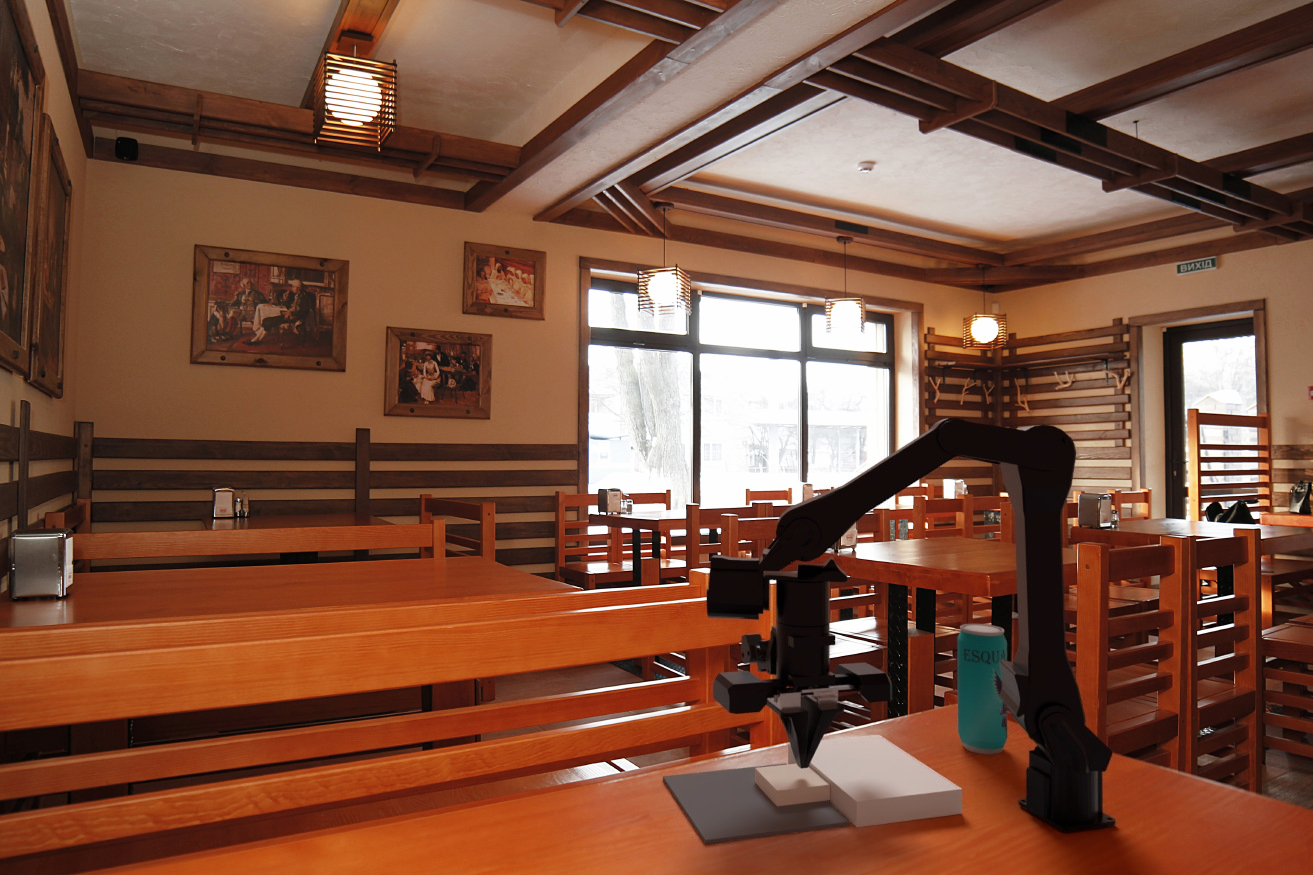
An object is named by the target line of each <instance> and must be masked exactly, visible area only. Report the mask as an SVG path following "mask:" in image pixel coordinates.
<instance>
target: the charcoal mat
mask: <svg viewBox="0 0 1313 875" xmlns="http://www.w3.org/2000/svg"><path fill="white" fill-rule="evenodd" d="M779 765H788V763H776V764H767V765H766V764H765V765H757V766H748V767H747V766H746V767H739V768H737V767H736V768H729V769H720V770H711V771H700V772H691V773H681V774H671V775H663V776H662V781H663V782H664V784H665V785H666V787H667V789H668V790H669V791H670V793H671V795H672V796H673V797H674V799H675V800H676V802H677V804H678V805H679V807H680V808H681V810H682V811H683V813H684V814H685V816H686V817H687V819H688V820H689V822H690V823H691V825H692V826H693V828H694V829H695V831H696V832H697V834H698V836H699V837H700V838H701V840H702V842H703V843H704V845H711V844H718V843H720V844H721V843H726V842H734V841H735V842H736V841H743V840H748V839H758V838H765V837H774V836H781V835H786V834H787V835H789V834H797V833H804V832H811V831H820V830H826V829H827V830H828V829H834V828H841V827H849V826H850V823H851V822H850V821H849V820H848V819H847V818H846V817H845V816H844V815H843V814H841V813H840V812H839V811H838V810H837V809H836V808H835V807H834V806H833V805H832V804H830V803H829V802H828V801H827V800H826V801H817V802H809V803H801V804H792V805H784V806H776V805H775V803H774V802H773V801H772V800H771V799H770V798H769V797H768V796H767V795H766V794H765V793H764V792H763V791H762V789H761V788H760V787H759V786H758V785H757V784H756V783H755V768H759V767H769V766H779Z"/></svg>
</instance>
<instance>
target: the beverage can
mask: <svg viewBox="0 0 1313 875" xmlns="http://www.w3.org/2000/svg"><path fill="white" fill-rule="evenodd" d="M959 628H960V632H959V634H958V636H957V732H958V735H959V738H960V742H961V744H962V746H963V747H964V748H965V749H966V750H967V751H970V752H972V753H976V754H980V755H990V756H991V755H997V754H1000V753H1002V752H1003V750H1004V748H1005V744H1006V743H1007V740H1008V707H1007V704H1006V703H1005V702H1004V701H1003V700H1002V699H1001V698H1000V696H999V694H1000V692H1001V689H1002V683H1003V681H1002V674H1001V670H1000V660H1004V661H1008V641H1007V640H1006V637H1005V634H1004V633H1005V629H1004V628H1003V627H1001V626H996V625H991V624H986V623H964V624H962V625H960V626H959Z"/></svg>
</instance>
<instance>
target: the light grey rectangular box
mask: <svg viewBox="0 0 1313 875" xmlns="http://www.w3.org/2000/svg"><path fill="white" fill-rule="evenodd" d="M787 745H788V746H787V747H788V748H787V765H788V764H797V763H796V760H795V757H794V754H793V751H792V748H791V745H790V742H788V743H787ZM809 767H810V768H812V769H813V770H814V771H815V772H816V773H817V774H818V775H820V776H821V777H822V778H823V779H824V780H825V781H826V782H828V783H829V784H830V800H827V801H828V802H829V803H830V804H831V805H832V806H833V807H834V808H835V809H836V810H837V811H839V812H840V813H841V814H842V815H843V816H844V817H845V818H846V819H847V820H848V821H849V822H850V823H851V824H852V825H854V827H856V828H861V827H869V826H870V827H871V826H877V825H885V824H893V823H894V824H895V823H900V822H901V823H902V822H908V821H916V820H925V819H930V818H931V819H932V818H940V817H946V816H947V817H948V816H953V815H961V814H963V788H961V787H960V786H958V785H957V784H955V783H954V782H952V781H950V779H947V778H946V777H944V776H943V775H941V774H940V773H938V772H937V771H935V770H933V769H932V768H930V767H929V766H927V765H926V764H924V763H923V762H921V761H920V760H919V759H916V758H915V757H914V756H913V755H911V754H909V753H908V752H906V751H905V750H903V749H901V747H898V746H897V745H895V744H894V743H892V742H891V741H890V740H888V739H886V738H884V737H883V736H881V735H880V734H871V735H863V736H862V735H861V736H851V737H841V738H830V739H822V740H821V742H820V744H819V746H818V748H817V750H816V752H815V754H814V756H813V758H812V760H811V762H810V764H809Z"/></svg>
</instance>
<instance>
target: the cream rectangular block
mask: <svg viewBox="0 0 1313 875" xmlns="http://www.w3.org/2000/svg"><path fill="white" fill-rule="evenodd" d="M755 783H756V784H757V785H758V786H759V787H760V788H761V789H762V791H763V792H764V793H765V794H766V795H767V796H768V797H769V798H770V799H771V800H772V801H773V802H774V803H775V805H776V806H784V805H792V804H801V803H809V802H817V801H826V800H830V784H829V783H828V782H826V781H825V780H824V779H823V778H822V777H821V776H820V775H818V774H817V773H816V772H815V771H814V770H813V769H812V768H810V767H808V768H803V769H801V768H800V767H798V765H797V764H788V763H787V765H779V766H769V767H759V768H755Z"/></svg>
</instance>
